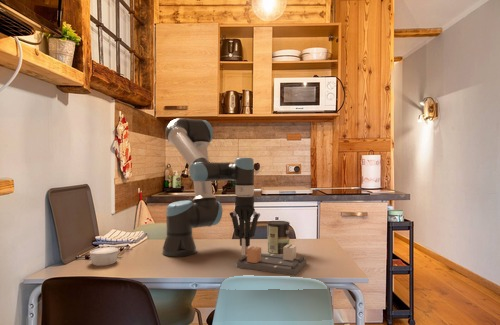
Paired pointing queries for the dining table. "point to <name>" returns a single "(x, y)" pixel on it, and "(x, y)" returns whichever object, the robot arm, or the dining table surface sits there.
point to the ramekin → (104, 256)
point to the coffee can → (277, 236)
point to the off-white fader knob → (289, 252)
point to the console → (274, 264)
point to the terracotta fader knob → (254, 254)
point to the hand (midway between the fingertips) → (244, 254)
